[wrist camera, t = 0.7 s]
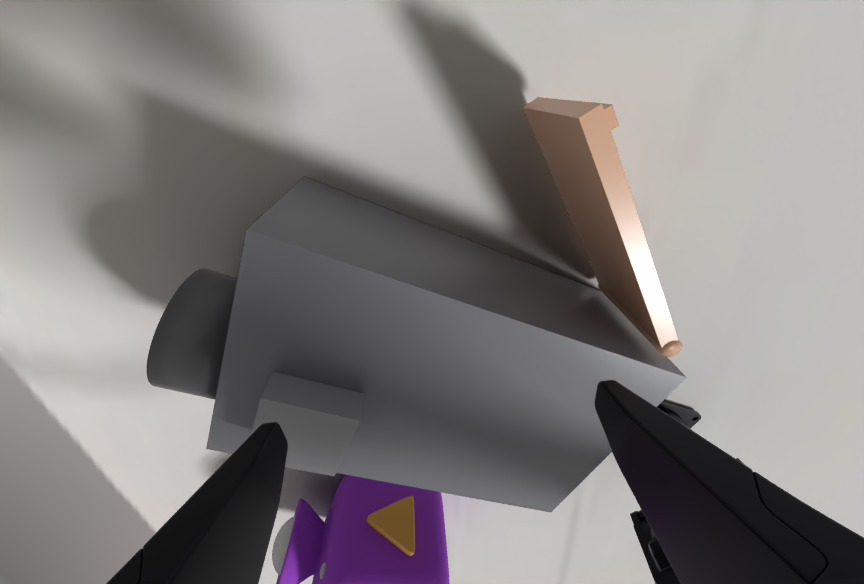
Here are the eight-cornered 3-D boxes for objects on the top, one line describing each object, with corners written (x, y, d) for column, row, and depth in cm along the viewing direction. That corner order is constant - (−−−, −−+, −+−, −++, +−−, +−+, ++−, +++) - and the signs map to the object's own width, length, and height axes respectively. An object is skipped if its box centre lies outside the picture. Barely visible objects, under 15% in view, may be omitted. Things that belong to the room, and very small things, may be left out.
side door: (626, 280, 23) (698, 344, 17) (601, 293, 23) (663, 360, 17) (553, 87, 17) (626, 88, 11) (520, 108, 17) (576, 119, 12)
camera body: (605, 292, 24) (709, 401, 16) (516, 411, 29) (559, 538, 21) (244, 153, 18) (112, 210, 10) (215, 332, 23) (113, 466, 15)
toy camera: (288, 456, 30) (241, 605, 22) (445, 462, 32) (461, 601, 23) (292, 525, 36) (256, 666, 27) (428, 527, 37) (434, 659, 29)
